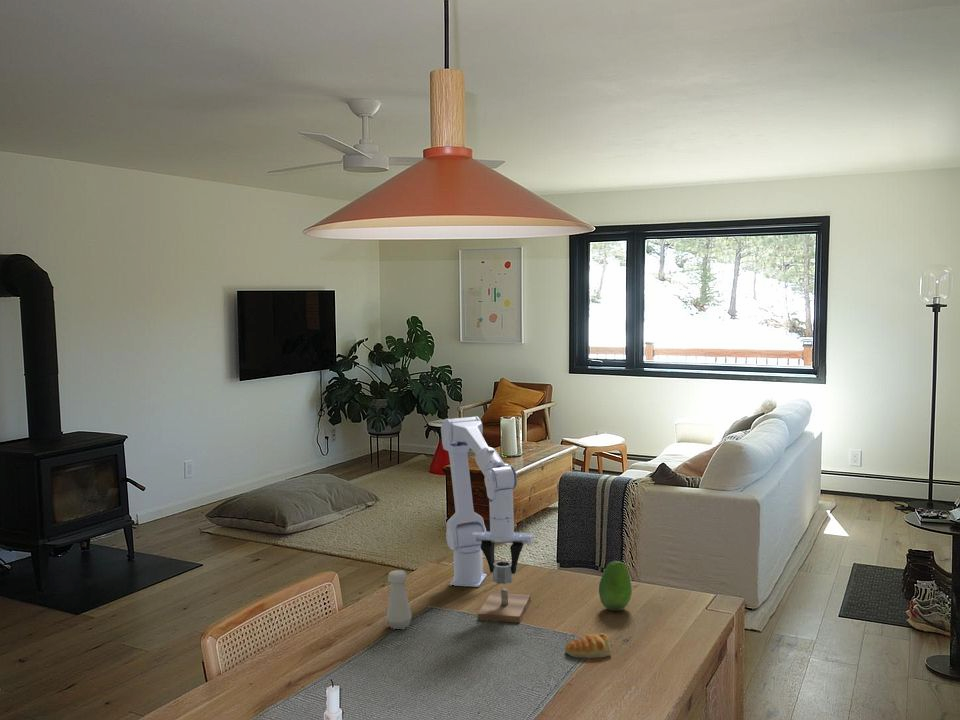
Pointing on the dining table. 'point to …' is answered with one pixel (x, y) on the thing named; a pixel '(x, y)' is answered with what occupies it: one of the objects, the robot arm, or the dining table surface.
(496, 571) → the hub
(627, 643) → the dining table surface
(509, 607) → the shaft block
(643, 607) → the dining table surface
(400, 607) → the salt shaker
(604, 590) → the avocado
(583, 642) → the pastry
